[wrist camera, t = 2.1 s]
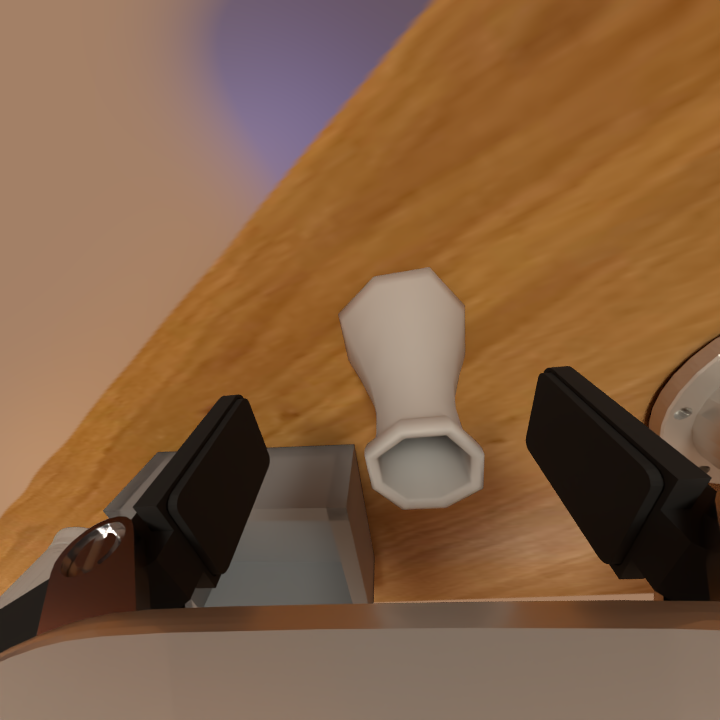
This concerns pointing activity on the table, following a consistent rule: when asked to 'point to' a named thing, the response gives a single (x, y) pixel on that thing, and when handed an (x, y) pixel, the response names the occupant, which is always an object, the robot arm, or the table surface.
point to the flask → (413, 388)
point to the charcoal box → (290, 532)
